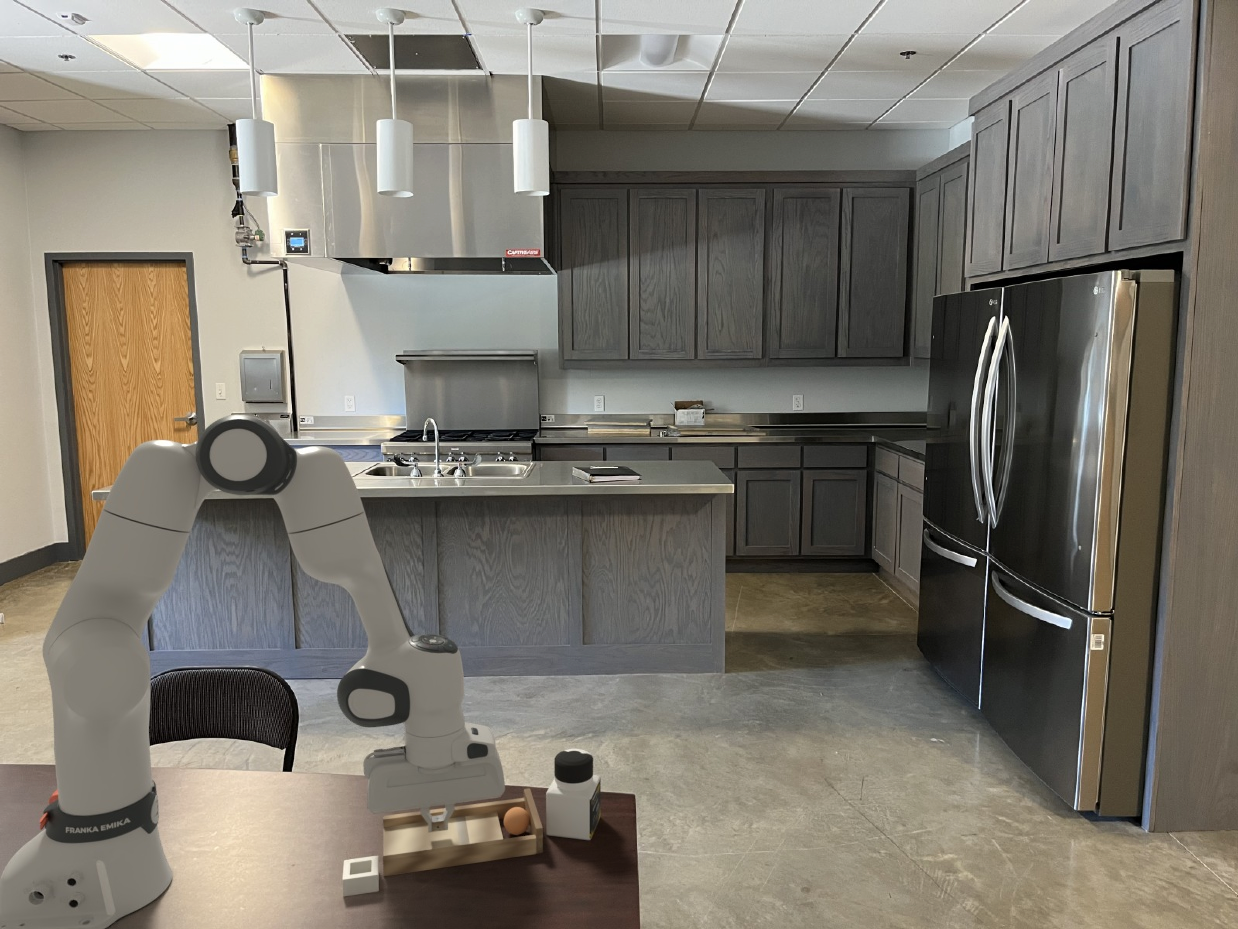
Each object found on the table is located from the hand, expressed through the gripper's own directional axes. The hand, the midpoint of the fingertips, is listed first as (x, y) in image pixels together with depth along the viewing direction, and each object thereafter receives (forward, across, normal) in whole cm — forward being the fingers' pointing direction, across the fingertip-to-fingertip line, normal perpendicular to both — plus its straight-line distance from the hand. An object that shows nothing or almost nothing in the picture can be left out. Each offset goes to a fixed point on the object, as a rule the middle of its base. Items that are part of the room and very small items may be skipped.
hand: (437, 829), depth 132 cm
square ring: (+2, -11, -7) cm, 13 cm away
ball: (0, +12, 0) cm, 12 cm away
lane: (+2, +3, 0) cm, 4 cm away
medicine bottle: (+3, +21, 0) cm, 21 cm away
